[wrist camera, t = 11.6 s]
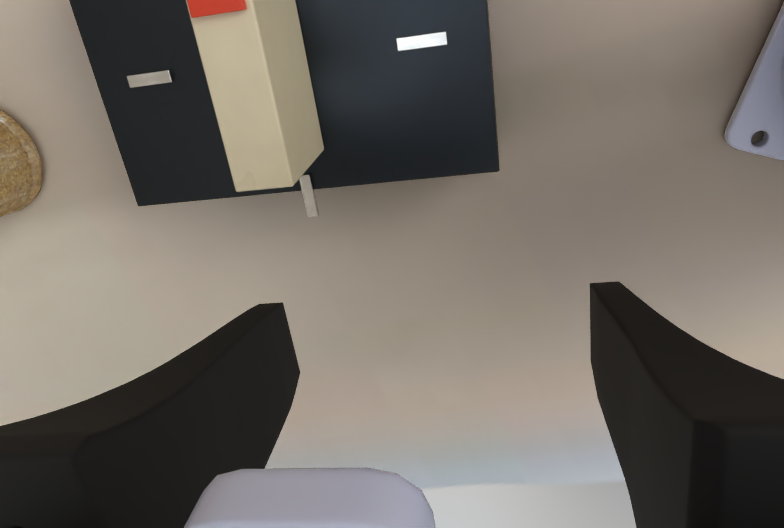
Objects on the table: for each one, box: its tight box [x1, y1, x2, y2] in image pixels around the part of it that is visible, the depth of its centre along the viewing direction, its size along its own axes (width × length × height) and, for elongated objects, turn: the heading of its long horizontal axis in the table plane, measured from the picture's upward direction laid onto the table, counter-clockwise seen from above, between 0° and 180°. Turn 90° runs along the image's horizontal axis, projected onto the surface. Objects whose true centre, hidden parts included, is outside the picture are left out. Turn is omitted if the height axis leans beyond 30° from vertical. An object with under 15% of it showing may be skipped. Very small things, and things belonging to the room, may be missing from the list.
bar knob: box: [186, 0, 324, 192], centre depth 16 cm, size 6×2×4 cm, turn 9°
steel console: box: [69, 0, 499, 217], centre depth 20 cm, size 12×10×4 cm
